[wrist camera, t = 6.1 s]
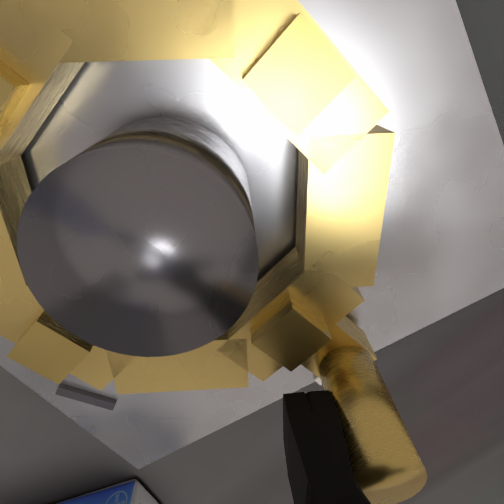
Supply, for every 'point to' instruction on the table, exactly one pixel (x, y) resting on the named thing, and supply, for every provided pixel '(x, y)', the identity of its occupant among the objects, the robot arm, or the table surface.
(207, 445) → the table surface
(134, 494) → the medicine box
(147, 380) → the gold octagonal ring
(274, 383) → the grey shiny rounded piece
